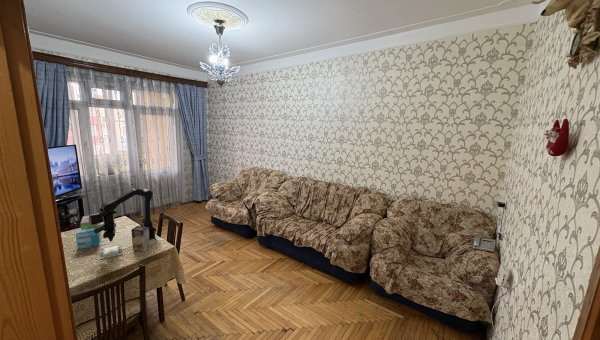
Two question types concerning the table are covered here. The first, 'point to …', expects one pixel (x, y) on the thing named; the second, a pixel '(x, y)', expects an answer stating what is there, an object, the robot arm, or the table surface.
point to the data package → (87, 238)
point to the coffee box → (140, 238)
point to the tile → (111, 251)
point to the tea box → (87, 224)
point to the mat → (112, 255)
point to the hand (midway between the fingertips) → (111, 241)
